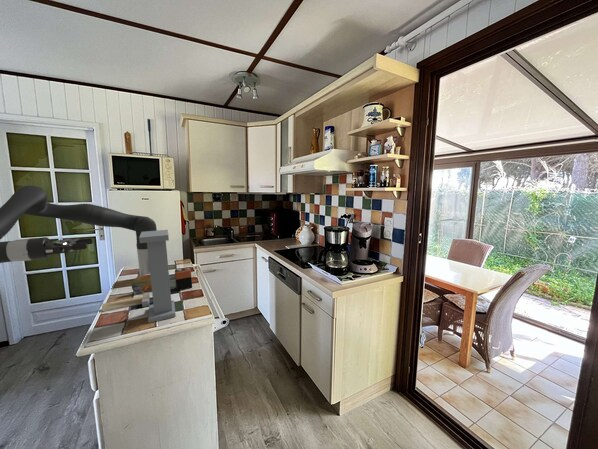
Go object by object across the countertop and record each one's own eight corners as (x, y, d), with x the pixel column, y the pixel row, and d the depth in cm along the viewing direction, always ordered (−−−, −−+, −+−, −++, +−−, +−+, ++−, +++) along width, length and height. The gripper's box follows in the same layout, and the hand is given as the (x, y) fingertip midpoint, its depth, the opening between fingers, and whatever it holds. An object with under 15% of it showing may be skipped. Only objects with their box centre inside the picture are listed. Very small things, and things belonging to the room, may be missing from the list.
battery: (175, 287, 123) (174, 268, 121) (190, 284, 127) (189, 265, 125) (177, 291, 119) (175, 270, 118) (192, 287, 123) (191, 268, 121)
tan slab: (105, 305, 106) (104, 300, 106) (149, 296, 114) (149, 291, 113) (100, 316, 97) (99, 310, 97) (149, 306, 105) (148, 300, 105)
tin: (132, 295, 115) (130, 278, 113) (132, 293, 117) (130, 276, 116) (169, 288, 123) (167, 271, 121) (168, 286, 125) (167, 269, 124)
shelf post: (149, 308, 103) (141, 231, 97) (174, 303, 107) (167, 229, 102) (148, 323, 92) (139, 237, 87) (175, 316, 96) (168, 235, 91)
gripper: (41, 254, 94) (95, 248, 102) (22, 265, 82) (86, 257, 89) (37, 235, 93) (92, 230, 101) (17, 243, 81) (82, 237, 88)
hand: (89, 243), depth 95 cm, fingers open, 8 cm apart
